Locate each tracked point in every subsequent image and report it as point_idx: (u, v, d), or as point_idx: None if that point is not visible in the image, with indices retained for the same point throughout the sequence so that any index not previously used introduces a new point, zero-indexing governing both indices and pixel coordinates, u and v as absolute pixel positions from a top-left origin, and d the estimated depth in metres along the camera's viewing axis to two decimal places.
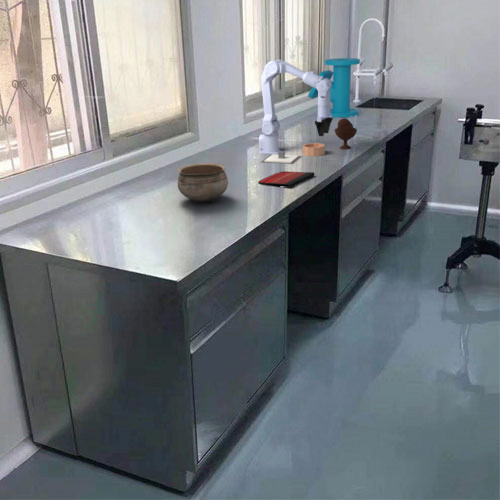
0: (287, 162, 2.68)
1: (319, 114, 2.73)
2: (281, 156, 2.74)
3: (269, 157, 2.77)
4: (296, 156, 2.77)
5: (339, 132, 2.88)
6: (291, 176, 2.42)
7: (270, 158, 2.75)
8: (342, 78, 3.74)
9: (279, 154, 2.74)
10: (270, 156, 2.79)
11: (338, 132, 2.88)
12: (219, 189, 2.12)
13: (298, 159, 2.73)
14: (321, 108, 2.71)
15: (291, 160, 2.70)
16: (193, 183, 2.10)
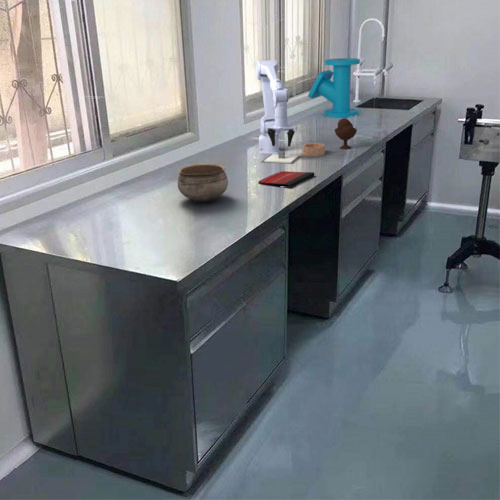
0: (287, 162, 2.68)
1: None
2: (281, 156, 2.74)
3: (269, 157, 2.77)
4: (296, 156, 2.77)
5: (339, 132, 2.88)
6: (291, 176, 2.42)
7: (270, 158, 2.75)
8: (342, 78, 3.74)
9: (279, 154, 2.74)
10: (270, 156, 2.79)
11: (338, 132, 2.88)
12: (219, 189, 2.12)
13: (298, 159, 2.73)
14: None
15: (291, 160, 2.70)
16: (193, 183, 2.10)
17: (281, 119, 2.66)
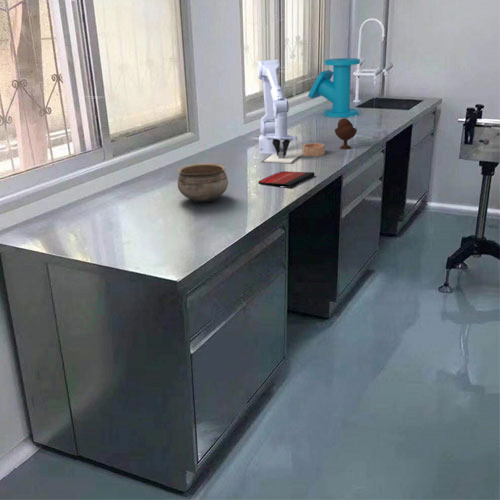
0: (287, 162, 2.68)
1: None
2: (281, 156, 2.74)
3: (269, 157, 2.77)
4: (296, 156, 2.77)
5: (339, 132, 2.88)
6: (291, 176, 2.42)
7: (270, 158, 2.75)
8: (342, 78, 3.74)
9: (279, 154, 2.74)
10: (270, 156, 2.79)
11: (338, 132, 2.88)
12: (219, 189, 2.12)
13: (298, 159, 2.73)
14: None
15: (291, 160, 2.70)
16: (193, 182, 2.10)
17: (281, 129, 2.67)
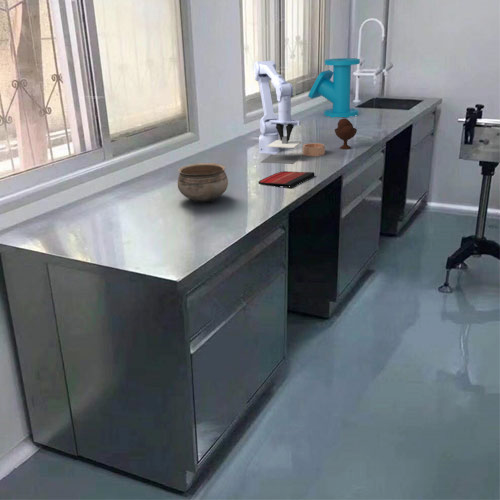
0: (290, 147, 2.66)
1: None
2: (284, 141, 2.72)
3: (272, 142, 2.75)
4: (300, 141, 2.75)
5: (339, 132, 2.88)
6: (291, 176, 2.42)
7: (273, 143, 2.73)
8: (342, 78, 3.74)
9: (282, 139, 2.72)
10: None
11: (338, 132, 2.88)
12: (219, 189, 2.12)
13: (298, 159, 2.73)
14: None
15: (294, 145, 2.68)
16: (193, 182, 2.10)
17: (285, 113, 2.66)
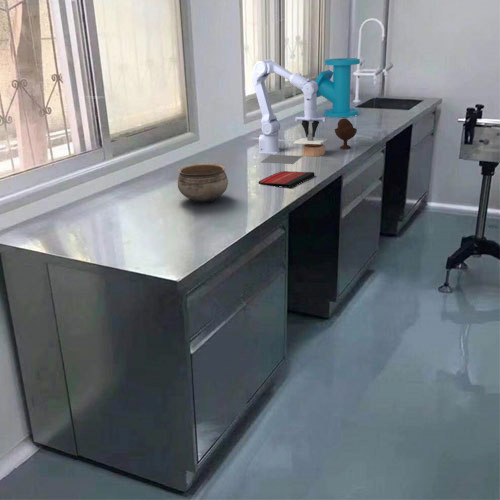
0: (316, 143, 2.73)
1: None
2: (310, 138, 2.78)
3: (298, 140, 2.82)
4: (324, 139, 2.82)
5: (339, 132, 2.88)
6: (291, 176, 2.42)
7: (299, 140, 2.80)
8: (342, 78, 3.74)
9: (308, 136, 2.78)
10: (299, 139, 2.84)
11: (338, 132, 2.88)
12: (219, 189, 2.12)
13: (298, 159, 2.73)
14: None
15: (320, 142, 2.74)
16: (193, 182, 2.10)
17: (311, 110, 2.72)
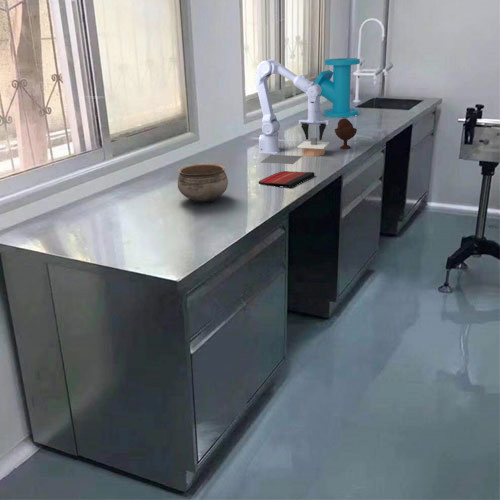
0: (320, 148, 2.75)
1: None
2: (313, 142, 2.80)
3: (301, 143, 2.83)
4: (328, 142, 2.83)
5: (339, 132, 2.88)
6: (291, 176, 2.42)
7: (302, 144, 2.82)
8: (342, 78, 3.74)
9: (311, 140, 2.80)
10: (302, 143, 2.85)
11: (338, 132, 2.88)
12: (219, 189, 2.12)
13: (298, 159, 2.73)
14: None
15: (324, 146, 2.76)
16: (193, 182, 2.10)
17: (314, 113, 2.73)
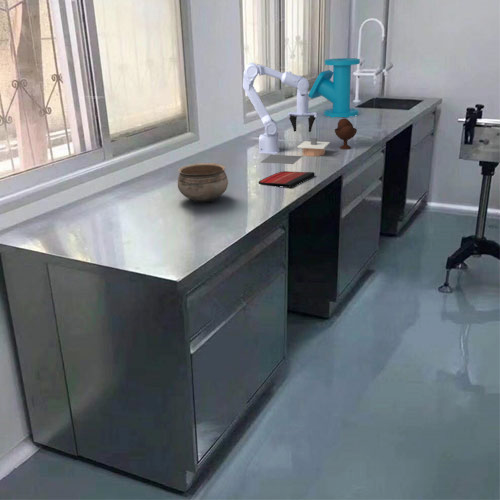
0: (320, 148, 2.75)
1: None
2: (313, 142, 2.80)
3: (301, 143, 2.83)
4: (328, 142, 2.83)
5: (339, 132, 2.88)
6: (291, 176, 2.42)
7: (302, 144, 2.82)
8: (342, 78, 3.74)
9: (311, 140, 2.80)
10: (302, 143, 2.85)
11: (338, 132, 2.88)
12: (219, 189, 2.12)
13: (298, 159, 2.73)
14: None
15: (324, 146, 2.76)
16: (193, 182, 2.10)
17: (303, 106, 2.81)
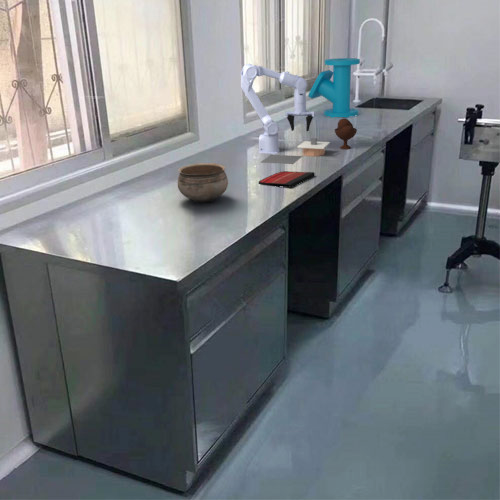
0: (320, 148, 2.75)
1: None
2: (313, 142, 2.80)
3: (301, 143, 2.83)
4: (328, 142, 2.83)
5: (339, 132, 2.88)
6: (291, 176, 2.42)
7: (302, 144, 2.82)
8: (342, 78, 3.74)
9: (311, 140, 2.80)
10: (302, 143, 2.85)
11: (338, 132, 2.88)
12: (219, 189, 2.12)
13: (298, 159, 2.73)
14: None
15: (324, 146, 2.76)
16: (193, 183, 2.10)
17: (300, 105, 2.82)
